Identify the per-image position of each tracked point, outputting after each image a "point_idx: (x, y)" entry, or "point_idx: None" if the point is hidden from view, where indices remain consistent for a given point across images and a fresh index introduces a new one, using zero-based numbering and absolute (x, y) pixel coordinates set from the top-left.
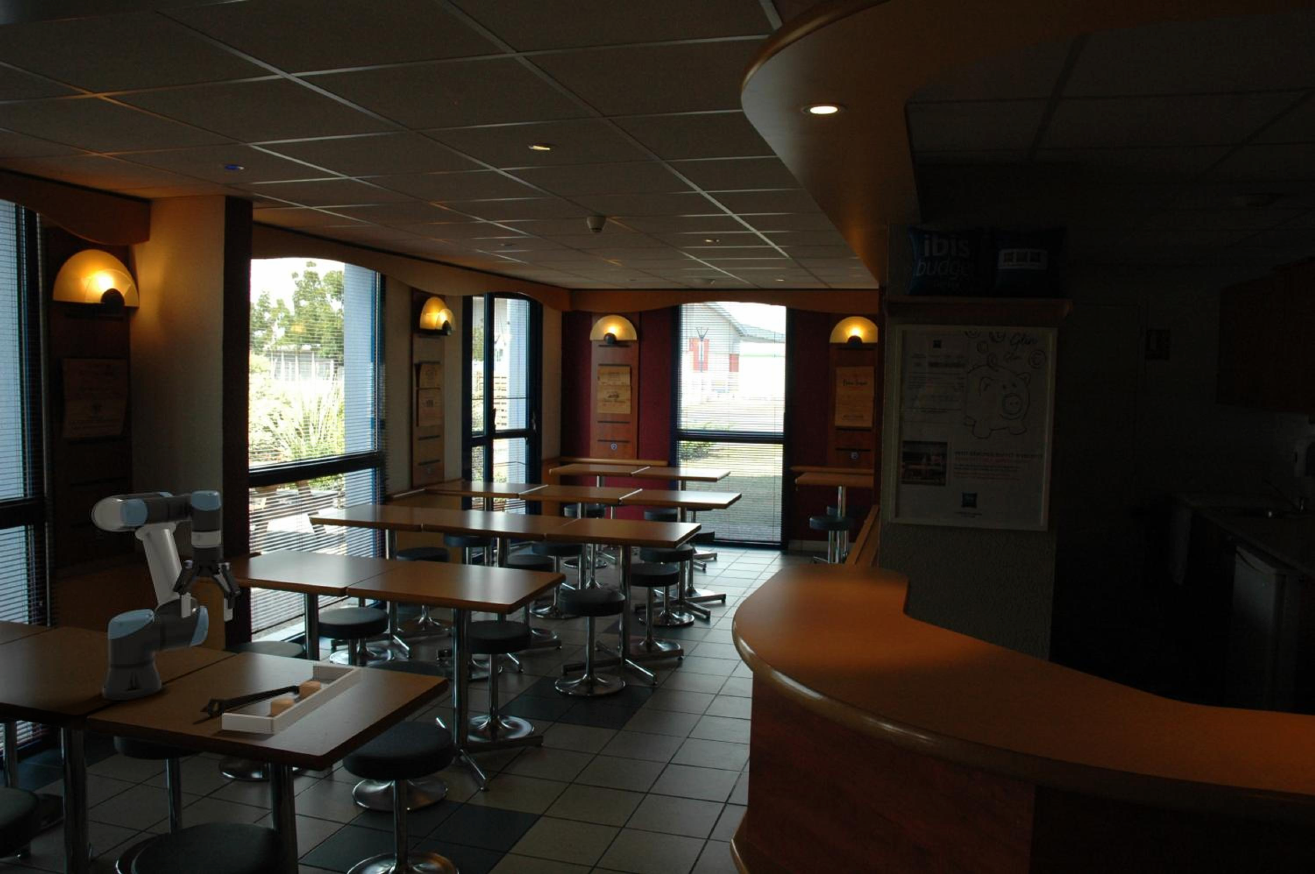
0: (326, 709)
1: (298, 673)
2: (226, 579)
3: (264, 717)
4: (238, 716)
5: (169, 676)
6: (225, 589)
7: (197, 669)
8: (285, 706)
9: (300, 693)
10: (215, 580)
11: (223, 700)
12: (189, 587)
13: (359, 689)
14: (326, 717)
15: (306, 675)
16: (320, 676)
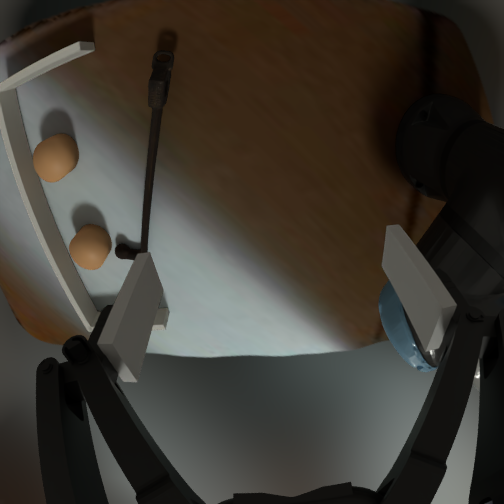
0: None
1: (209, 316)
2: (57, 466)
3: (8, 83)
4: (47, 56)
5: None
6: (86, 399)
7: None
8: (35, 151)
9: (93, 230)
10: (155, 472)
11: (148, 102)
12: (436, 376)
13: None
14: (4, 177)
15: (188, 313)
16: None
